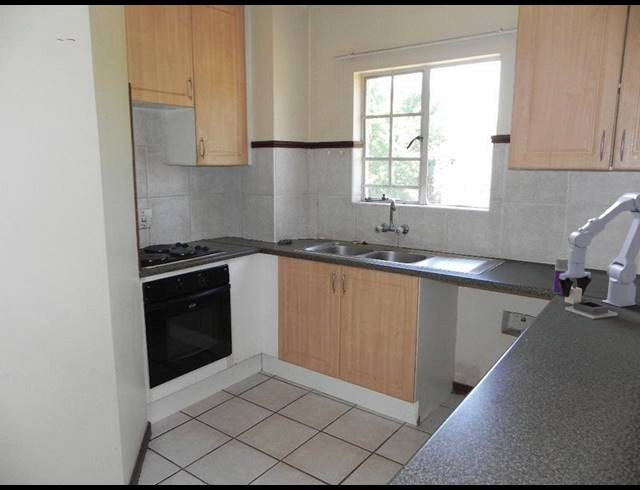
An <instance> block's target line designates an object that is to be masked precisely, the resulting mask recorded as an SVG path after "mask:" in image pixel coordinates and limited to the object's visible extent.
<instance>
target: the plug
mask: <svg viewBox="0 0 640 490" xmlns="http://www.w3.org/2000/svg"><path fill="white" fill-rule="evenodd" d="M582 297H583V296H582V289H581V288H577V285H576V284H572V287H571V290H570V295H569V297H565V296H564V302H565V303H567V304H570V305H574V303H576V302H582Z"/></svg>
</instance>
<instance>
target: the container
mask: <svg viewBox="0 0 640 490" xmlns="http://www.w3.org/2000/svg"><path fill="white" fill-rule="evenodd" d="M568 263H569V258H565V257H556V258H555V266H554V275H553V276H554V277H553V287H552V293H553V294H555V295H563V291H562V287H561V284H560V282H559V277H560V274H563V273H566V271H568Z"/></svg>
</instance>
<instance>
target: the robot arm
mask: <svg viewBox="0 0 640 490" xmlns="http://www.w3.org/2000/svg"><path fill="white" fill-rule="evenodd" d="M623 212H630V213H631V215H632V216H633V221H632V224H631V226H630V228H629V231H628V232H627V235H626V238H625V240H624V242H623V245H622V247H621V250H620V253H619V255H618V256H616V257H615V258H614V259H613V260H612V262H610V264H609V265H608V266H607V269H606V273H607V276H608V277H609V279H608V281H609V282H608V291H607V299H602V300H601V302H602V303H606V304H608V305H613V306H616V307H619V308H620V307H629V306H636V305H637V303H636V302H635V300H636V295H637V294H636V291H637V287H636V285H635V283H634V281H635V279H636V278H637V269H638V264H637V263H636V258H637V256H638V254H639V253H640V252H639V251H640V192H635V191H628V192H625V193H624V194H623V195H622V196H620V197H618V198H617V201H616V202H614V203H613V204H612V205H611V206H610V207H609V208H608V209H607V210H605V212H603V213H602V214H601V215H600V216H599V217H593V218H590V219H588V220H587V223H586V224H584V225H583V226H582V227H579V228H578V230H577V231H573V232H572V233H570V235H569V237H567V242H568V243H569V256H568V266H567V271H566V273H563V274H560V277H559V282H560V284H561V287H562V291H563V294H562V296H563V297H564V298H565V297H569V295H570V290H571V287H573V285H574V283H575V282H574V281H573V280H571V279H575V280H576V284H577V285H576V287H577V288H581V289H582V296H581V297H583V296H584V294H585V292H586V289H587V288H588V285H589V284H590V283H591V282H592V278H591V276H592V275H591V274H592V273H591V271H585V267H586V258H587V248H588V246H590V245H591V243H592V240H593V239H594V238H595V237H597V236H598V235H600V233H602V232H603V231H604V230H605V229H606V225H607V224H608V223H609V222H611V221H612V220H614V219H615V218H616V217H618V216H619V215H620V214H622V213H623ZM635 304H636V305H635Z"/></svg>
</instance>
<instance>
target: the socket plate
mask: <svg viewBox="0 0 640 490" xmlns="http://www.w3.org/2000/svg"><path fill="white" fill-rule="evenodd" d="M609 308H610V306H607V305H605V304H601V303H598V302H595V301H592V300H585V301H581V302H576V303H574V304H573V305H571V306H568V305H567V306H564V310H565V311H568V312H571V313H573V314H577V315H581V316H583V317H586V318H589V319H591V320H592V319H593V320H594V319H601V318H602V319H603V318H609V317H616V316H618V312H616V311H612V310H610V309H609Z"/></svg>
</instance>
